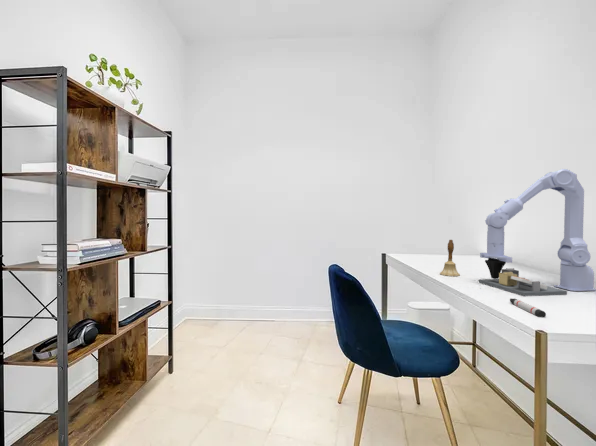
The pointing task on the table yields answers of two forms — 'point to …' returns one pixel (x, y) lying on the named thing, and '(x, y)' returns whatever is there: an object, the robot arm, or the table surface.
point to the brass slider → (507, 279)
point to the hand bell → (450, 263)
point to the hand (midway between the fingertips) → (494, 278)
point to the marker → (528, 308)
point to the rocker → (527, 281)
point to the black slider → (511, 271)
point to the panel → (524, 288)
